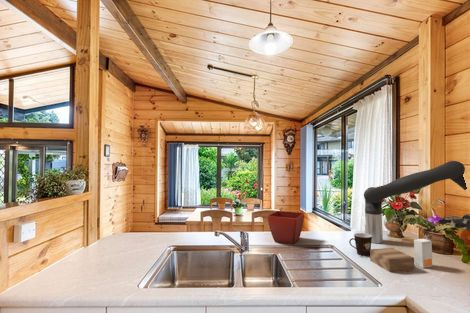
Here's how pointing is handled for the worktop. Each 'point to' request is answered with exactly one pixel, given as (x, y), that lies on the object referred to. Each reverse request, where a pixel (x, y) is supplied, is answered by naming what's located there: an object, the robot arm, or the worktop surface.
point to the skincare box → (423, 253)
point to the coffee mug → (362, 243)
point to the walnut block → (392, 260)
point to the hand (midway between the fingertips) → (446, 223)
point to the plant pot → (286, 226)
